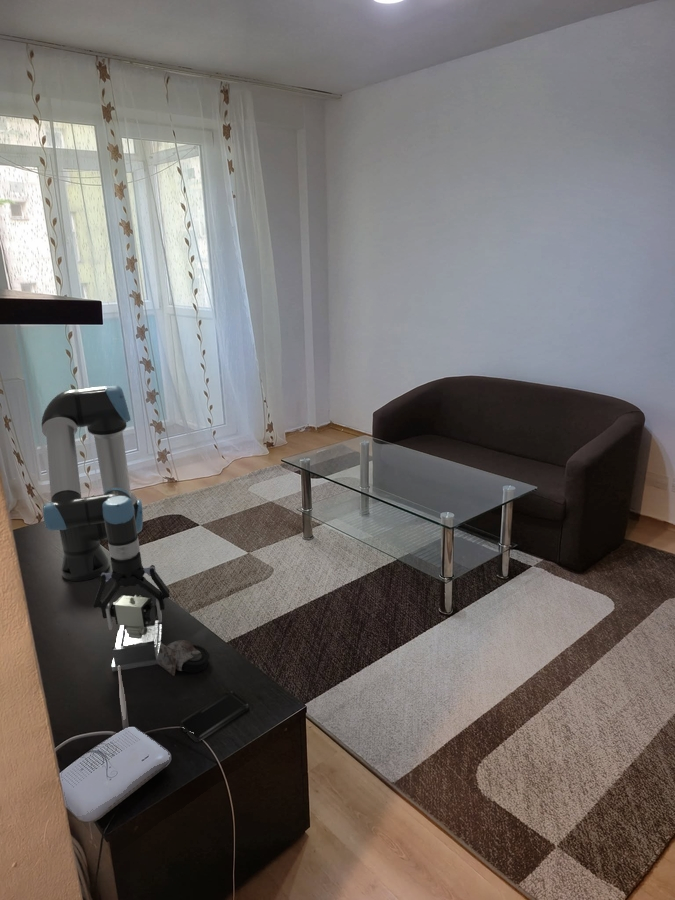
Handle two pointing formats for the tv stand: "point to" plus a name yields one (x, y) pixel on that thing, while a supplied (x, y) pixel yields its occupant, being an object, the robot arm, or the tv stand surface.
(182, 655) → the caster wheel
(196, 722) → the phone
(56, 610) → the tv stand surface
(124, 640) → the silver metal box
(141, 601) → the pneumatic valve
